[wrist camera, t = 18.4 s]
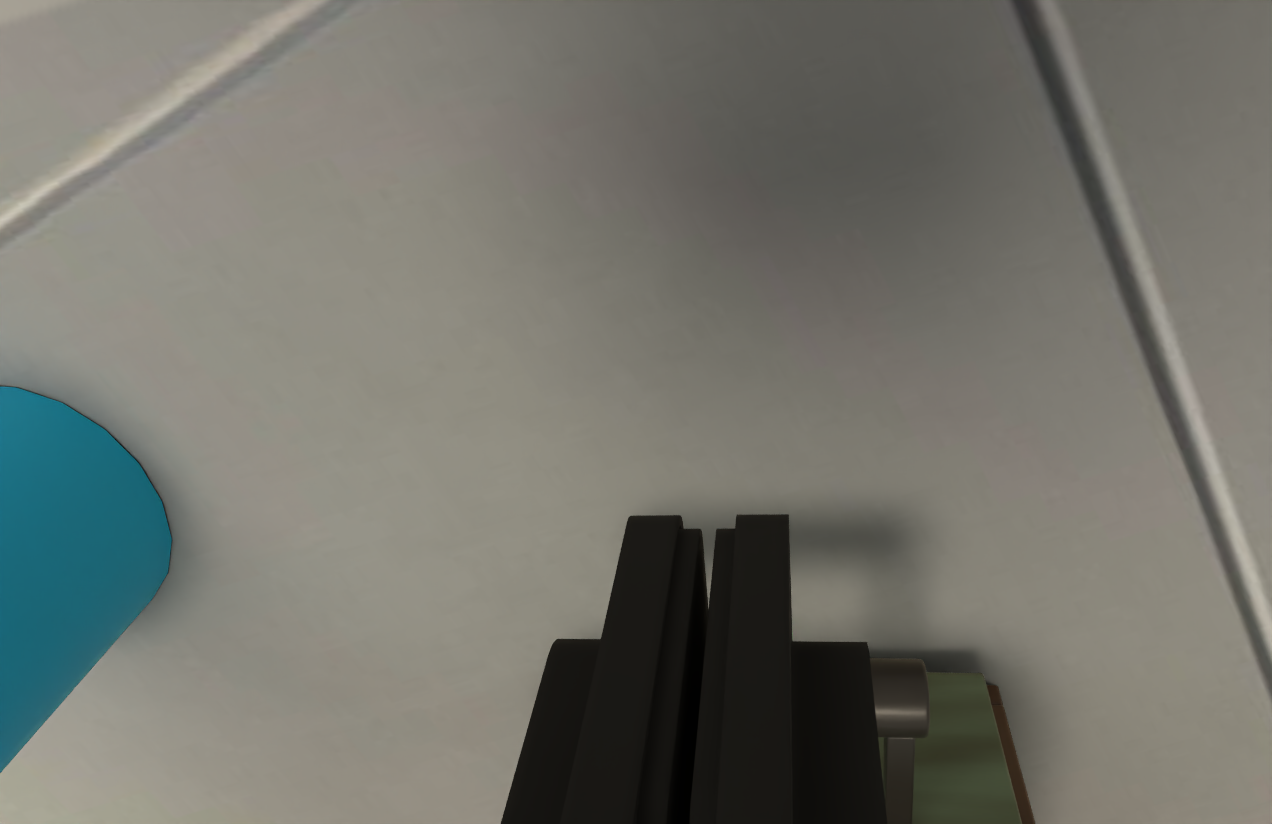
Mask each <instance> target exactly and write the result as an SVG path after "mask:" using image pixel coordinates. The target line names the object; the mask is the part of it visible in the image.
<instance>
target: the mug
mask: <svg viewBox="0 0 1272 824" xmlns="http://www.w3.org/2000/svg"><path fill="white" fill-rule="evenodd" d="M171 542H172V538H171V534H170V530H169V526H168V523H167V519H166V515H165V511H164V507H163V504H162V501H161V499H160V497H159V496H158V494H157V492H156V491H155V489H154V488H153V486H152V484H151V483H150V481H149V479H148V478H147V476H146V474H145V473H144V471H143V469H142V468H141V466H140V464H139V463H138V462H137V461H136V460H135V459H134V458H133V457H132V456H131V455H130V454H129V453H128V452H127V451H126V450H125V449H124V448H123V447H122V446H121V445H120V444H119V443H118V442H117V441H116V440H115V439H114V438H113V437H112V436H111V435H110V434H109V433H108V432H107V431H106V430H105V429H103V428H102V427H100V426H99V425H97V424H95V423H94V422H92V421H91V420H89V419H87V418H86V417H84V416H82V415H81V414H79V413H78V412H76V411H74V410H73V409H71V408H70V407H68V406H66V405H65V404H63V403H61V402H58V401H55V400H52V399H49V398H46V397H43V396H40V395H37V394H34V393H31V392H28V391H25V390H22V389H19V388H16V387H0V773H1V772H2V770H3V769H4V768H5V767H6V766H7V765H8V764H9V762H10V761H11V760H12V759H13V758H14V757H15V756H16V754H17V753H18V752H19V751H20V750H21V749H22V748H23V746H24V745H25V744H26V743H27V742H28V741H29V740H30V738H31V737H32V736H33V735H34V734H35V733H36V732H37V730H38V729H39V728H40V727H41V726H42V725H43V724H44V722H45V721H46V720H47V719H48V718H49V717H50V716H51V714H52V713H53V712H54V711H55V710H56V709H57V708H58V706H59V705H60V704H61V703H62V702H63V701H64V700H65V698H66V697H67V696H68V695H69V694H70V693H71V692H72V690H73V689H74V688H75V687H76V686H77V685H78V684H79V682H80V681H81V680H82V679H83V678H84V677H85V675H86V674H87V673H88V672H89V671H90V670H91V669H92V667H93V666H94V665H95V664H96V663H97V662H98V661H99V659H100V658H101V657H102V656H103V655H104V654H105V653H106V651H107V650H108V649H109V648H110V647H111V646H112V645H113V643H114V642H115V641H116V640H117V639H118V638H119V637H120V635H121V634H122V633H123V632H124V631H125V630H126V629H127V627H128V626H129V625H130V624H131V623H132V622H133V621H134V619H135V618H136V617H137V616H138V615H139V614H140V613H141V611H142V610H143V609H144V608H145V607H146V606H147V605H148V603H149V602H150V601H151V600H152V599H153V597H154V595H155V594H156V592H157V590H158V589H159V587H160V585H161V584H162V582H163V580H164V579H165V577H166V575H167V574H168V569H169V560H170V551H171Z"/></svg>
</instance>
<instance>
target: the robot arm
mask: <svg viewBox="0 0 1272 824" xmlns="http://www.w3.org/2000/svg"><path fill="white" fill-rule="evenodd" d="M501 824H887V816H886V807H885V797H884V788H883V778H882V769H881V759H880V750H879V741H878V731H877V722H876V712H875V703H874V693H873V684H872V674H871V665H870V656H869V649H868V644H867V642H793V641H792V610H791V577H790V543H789V515H788V514H781V515H737V517H736V528H735V529H717V530H716V537H715V548H714V559H713V569H712V580H711V591H710V601H709V611H708V598H707V586H706V573H705V561H704V548H703V537H702V531H701V529H684V527H683V521H682V517H681V516H680V515H660V516H630V517H629V518H628V521H627V525H626V529H625V534H624V538H623V543H622V547H621V552H620V556H619V561H618V565H617V570H616V574H615V579H614V583H613V588H612V592H611V597H610V601H609V606H608V610H607V615H606V619H605V624H604V628H603V633H602V637H601V639H557V640H556V641H555V642H554V643H553V644H552V647H551V650H550V652H549V655H548V658H547V662H546V665H545V669H544V672H543V676H542V680H541V683H540V687H539V690H538V694H537V697H536V701H535V704H534V708H533V711H532V715H531V718H530V722H529V726H528V729H527V733H526V736H525V740H524V743H523V747H522V750H521V754H520V757H519V761H518V765H517V768H516V772H515V775H514V779H513V782H512V786H511V789H510V793H509V796H508V800H507V803H506V807H505V811H504V814H503V818H502V821H501Z"/></svg>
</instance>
